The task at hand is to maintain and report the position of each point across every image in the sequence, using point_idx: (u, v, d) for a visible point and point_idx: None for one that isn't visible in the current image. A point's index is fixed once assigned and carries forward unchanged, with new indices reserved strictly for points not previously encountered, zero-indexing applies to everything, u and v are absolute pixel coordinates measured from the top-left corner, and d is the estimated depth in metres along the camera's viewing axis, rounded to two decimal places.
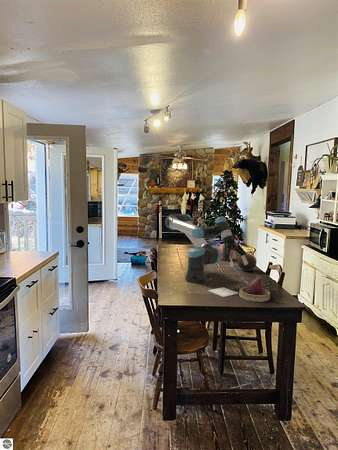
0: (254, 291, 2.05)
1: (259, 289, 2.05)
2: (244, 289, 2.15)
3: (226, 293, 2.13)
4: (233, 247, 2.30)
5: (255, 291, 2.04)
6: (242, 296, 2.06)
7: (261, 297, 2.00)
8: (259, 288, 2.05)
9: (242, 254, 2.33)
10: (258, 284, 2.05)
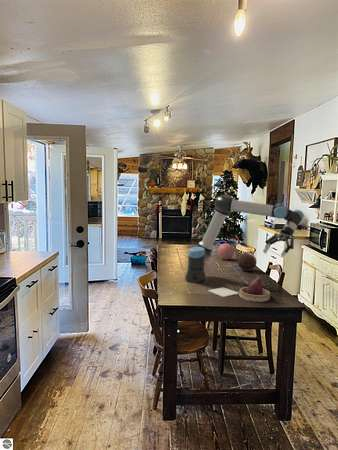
0: (254, 291, 2.05)
1: (259, 289, 2.05)
2: (244, 289, 2.15)
3: (226, 293, 2.13)
4: None
5: (255, 291, 2.04)
6: (242, 296, 2.06)
7: (261, 297, 2.00)
8: (259, 288, 2.05)
9: None
10: (258, 284, 2.05)
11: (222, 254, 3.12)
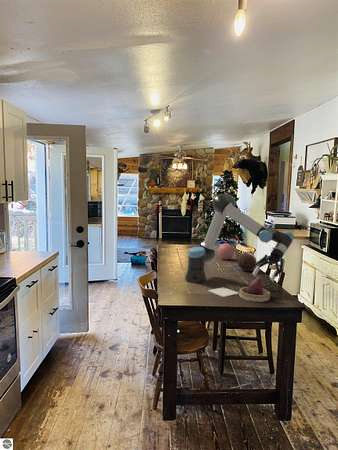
0: (254, 291, 2.05)
1: (259, 289, 2.05)
2: (244, 289, 2.15)
3: (226, 293, 2.13)
4: None
5: (255, 291, 2.04)
6: (242, 296, 2.06)
7: (261, 297, 2.00)
8: (259, 288, 2.05)
9: None
10: (258, 284, 2.05)
11: (222, 254, 3.12)
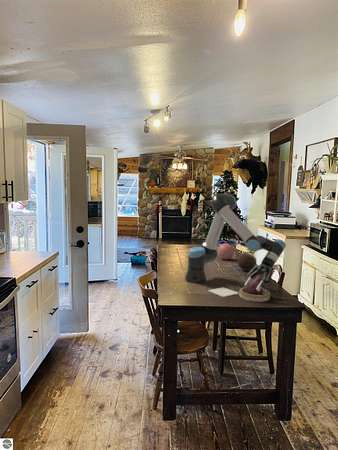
0: (254, 291, 2.05)
1: None
2: (244, 289, 2.15)
3: (226, 293, 2.13)
4: None
5: (255, 291, 2.04)
6: (242, 296, 2.06)
7: (261, 297, 2.00)
8: None
9: (251, 276, 2.13)
10: (258, 284, 2.05)
11: (222, 254, 3.12)
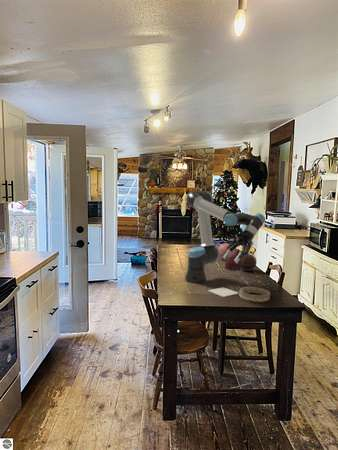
0: (232, 262, 2.07)
1: None
2: (244, 289, 2.15)
3: (226, 293, 2.13)
4: None
5: (233, 263, 2.07)
6: (242, 296, 2.06)
7: (261, 297, 2.00)
8: None
9: None
10: (236, 256, 2.08)
11: (222, 254, 3.12)
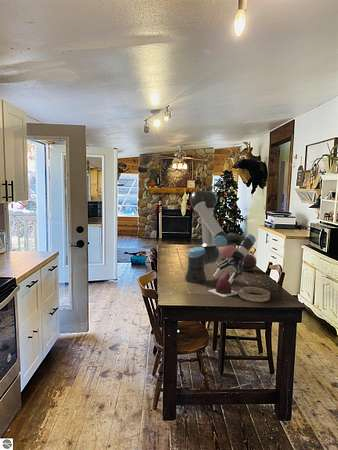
0: (222, 286, 2.11)
1: (227, 284, 2.11)
2: (244, 289, 2.15)
3: None
4: None
5: (223, 286, 2.11)
6: (242, 296, 2.06)
7: (261, 297, 2.00)
8: (227, 283, 2.11)
9: (220, 268, 2.22)
10: (226, 279, 2.12)
11: (222, 254, 3.12)
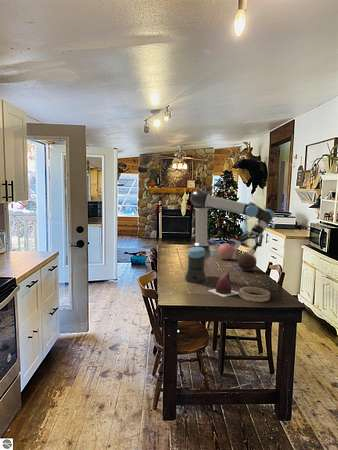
0: (222, 286, 2.11)
1: (227, 284, 2.11)
2: (244, 289, 2.15)
3: None
4: None
5: (223, 286, 2.11)
6: (242, 296, 2.06)
7: (261, 297, 2.00)
8: (227, 283, 2.11)
9: (240, 240, 2.33)
10: (226, 279, 2.12)
11: (222, 254, 3.12)
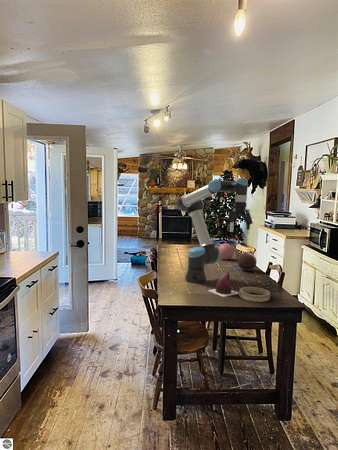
0: (222, 286, 2.11)
1: (227, 284, 2.11)
2: (244, 289, 2.15)
3: None
4: None
5: (223, 286, 2.11)
6: (242, 296, 2.06)
7: (261, 297, 2.00)
8: (227, 283, 2.11)
9: None
10: (226, 279, 2.12)
11: (222, 254, 3.12)
